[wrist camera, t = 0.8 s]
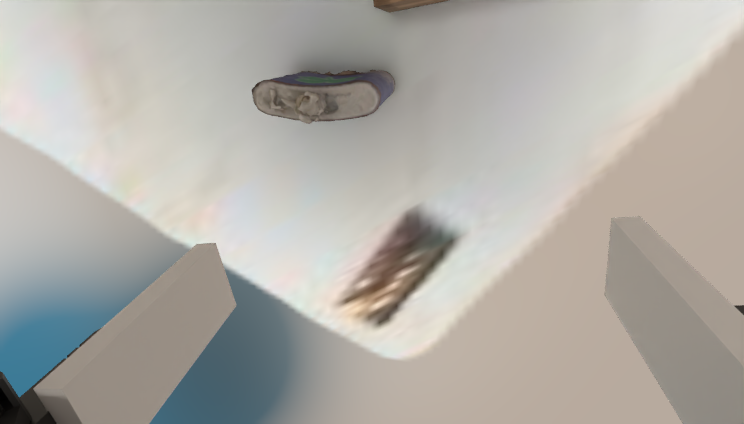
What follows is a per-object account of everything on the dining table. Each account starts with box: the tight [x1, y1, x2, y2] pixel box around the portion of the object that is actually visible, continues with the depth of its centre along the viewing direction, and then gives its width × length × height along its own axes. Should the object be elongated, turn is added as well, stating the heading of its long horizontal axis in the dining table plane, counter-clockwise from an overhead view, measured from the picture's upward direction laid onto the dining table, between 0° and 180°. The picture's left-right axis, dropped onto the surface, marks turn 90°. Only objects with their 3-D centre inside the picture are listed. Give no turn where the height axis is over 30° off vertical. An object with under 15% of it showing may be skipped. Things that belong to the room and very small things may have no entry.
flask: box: [252, 70, 395, 124], centre depth 31 cm, size 9×3×11 cm, turn 91°
